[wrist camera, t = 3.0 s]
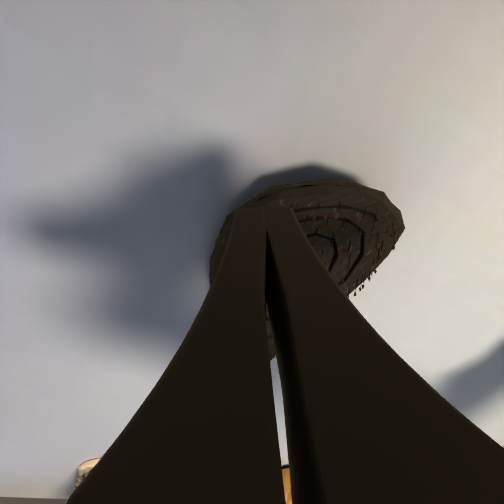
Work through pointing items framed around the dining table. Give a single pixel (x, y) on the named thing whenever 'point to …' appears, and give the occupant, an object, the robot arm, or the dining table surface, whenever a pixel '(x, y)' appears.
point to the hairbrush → (331, 229)
